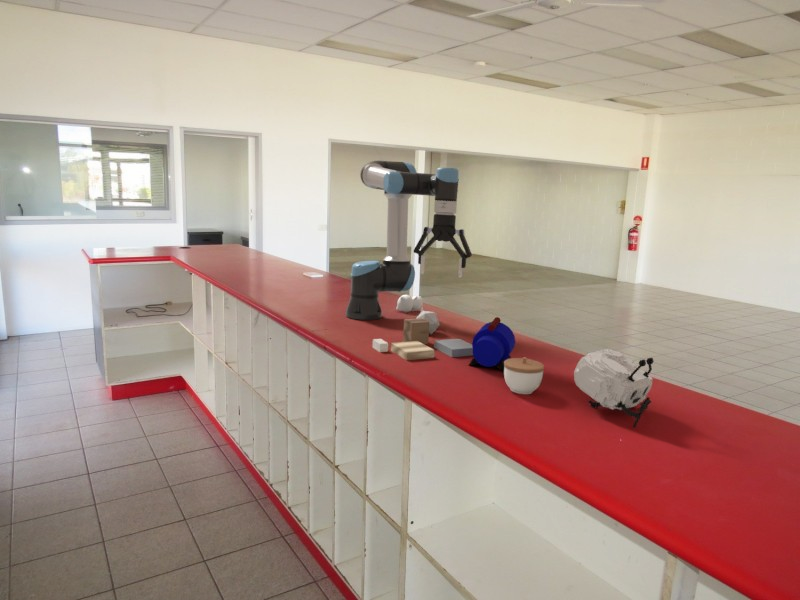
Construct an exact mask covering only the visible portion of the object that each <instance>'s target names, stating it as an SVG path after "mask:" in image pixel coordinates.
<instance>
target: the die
mask: <svg viewBox="0 0 800 600" xmlns="http://www.w3.org/2000/svg"><path fill="white" fill-rule="evenodd" d="M417 318H422V319H424V320H426V321H429V335H432V334H433V333H434V332H435V331H436V330H437V329H438V328H439V326H441V324H440V321H439V318H438V315H437V312H435V311H428V310H423V311H422V312H421V311H420V313H419V314H418V315H417V316H416V318H415V319H417Z"/></svg>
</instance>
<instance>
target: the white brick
mask: <svg viewBox="0 0 800 600" xmlns="http://www.w3.org/2000/svg"><path fill="white" fill-rule="evenodd" d="M372 349H374V350H376V351H377V352H378V353H384V352H389V343H388V341H386V340H384V339H382V338H373V339H372Z"/></svg>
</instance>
